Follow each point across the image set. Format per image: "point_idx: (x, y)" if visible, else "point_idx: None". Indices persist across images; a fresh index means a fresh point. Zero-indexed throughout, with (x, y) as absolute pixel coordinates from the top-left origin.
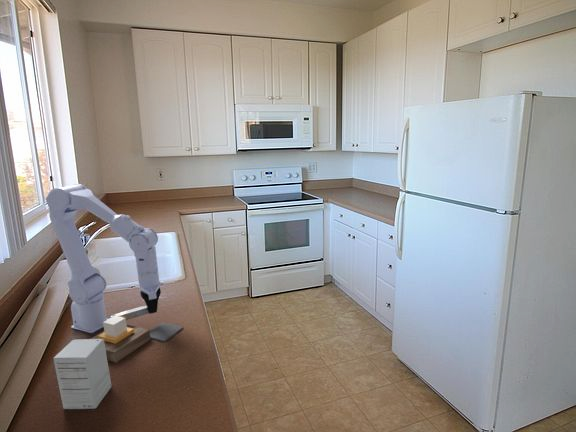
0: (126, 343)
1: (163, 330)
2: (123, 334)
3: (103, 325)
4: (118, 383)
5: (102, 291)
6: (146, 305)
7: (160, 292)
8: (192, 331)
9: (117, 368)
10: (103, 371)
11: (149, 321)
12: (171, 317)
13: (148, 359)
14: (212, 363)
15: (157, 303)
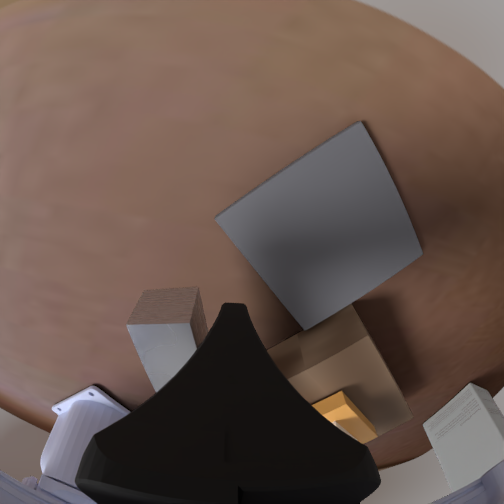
0: (397, 400)
1: (328, 235)
2: (361, 425)
3: (127, 414)
4: (472, 372)
5: (47, 490)
6: (160, 382)
7: (372, 470)
8: (416, 95)
9: (426, 384)
10: (499, 420)
11: (142, 275)
12: (153, 147)
13: (462, 316)
14: None
15: (267, 355)
